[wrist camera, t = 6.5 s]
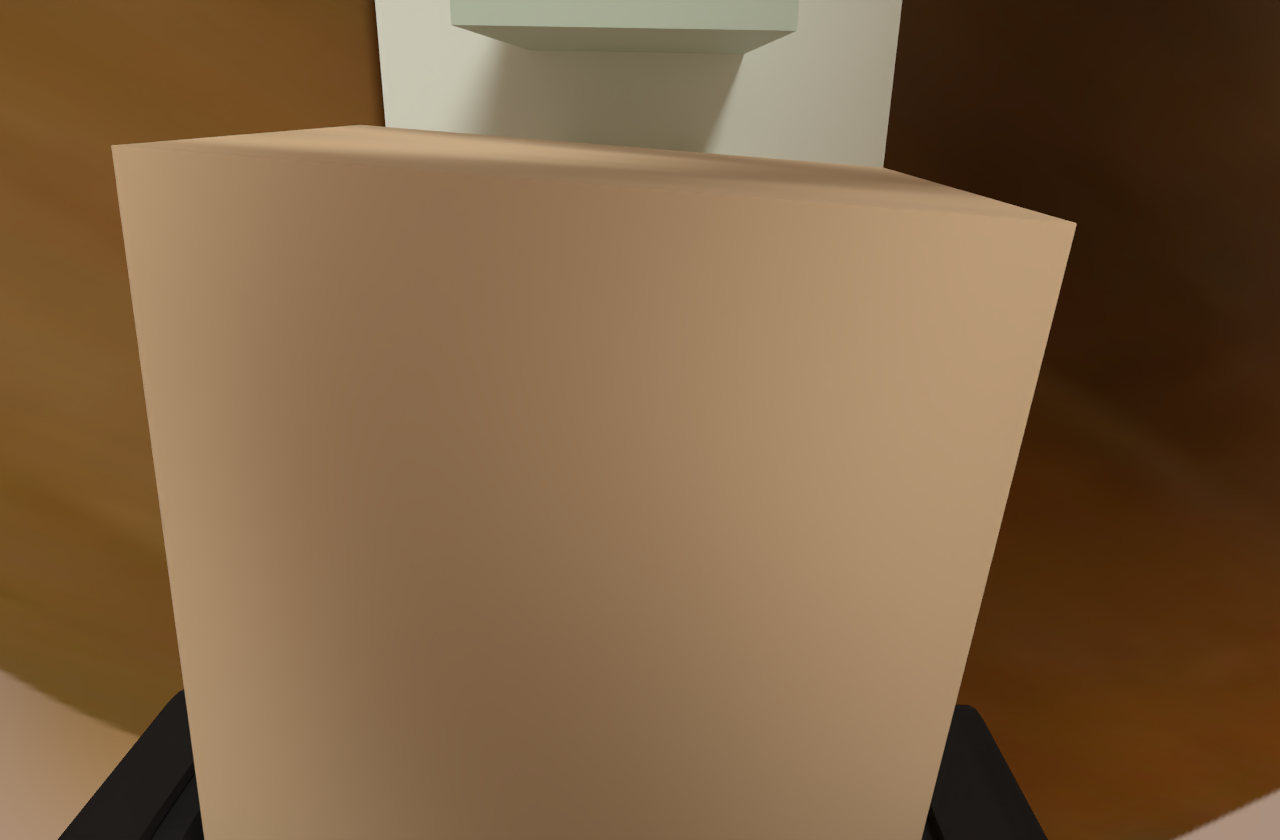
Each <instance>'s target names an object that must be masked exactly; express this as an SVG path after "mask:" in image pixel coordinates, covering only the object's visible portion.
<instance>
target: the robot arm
mask: <svg viewBox="0 0 1280 840" xmlns="http://www.w3.org/2000/svg"><path fill="white" fill-rule="evenodd" d="M58 840H204V833H203V825H202V818H201V810H200V803H199V795H198V788H197V780H196V773H195V766H194V758H193V751H192V743H191V736H190V728H189V721H188V713H187V706H186V698H185V691H184V689H183V690H182V691H180V692H179V693H178V694H176V695H175V696H174V697H173V698H172V699H171V700H170V701H169V702H168V703H167V705H166V706H165V707H164V708H163V710H162V711H161V712H160V713H159V715H158V716H157V717H156V718H155V720H154V721H153V722H152V723H151V725H150V726H149V727H148V728H147V730H146V731H145V732H144V733H143V734H142V736H141V737H140V738H139V739H138V741H137V742H136V743H135V744H134V746H133V747H132V748H131V749H130V751H129V752H128V753H127V754H126V756H125V757H124V758H123V760H122V761H121V762H120V763H119V764H118V765H117V767H116V768H115V770H113V772H112V773H111V774H110V775H109V777H108V778H107V779H106V781H105V782H104V783H103V784H102V785H101V787H100V788H99V789H98V790H97V791H96V793H95V794H94V796H92V798H91V799H90V800H89V801H88V803H87V804H86V805H85V806H84V808H83V809H82V810H81V812H80V813H79V814H78V815H77V816H76V818H75V819H74V820H73V821H72V823H71V824H70V825H69V826H68V827H67V829H66V830H65V831H64V832H63V834H62V835H61V836H60V837H59V839H58ZM921 840H1048V839H1047V837H1046V836H1045V834H1044V832H1043V830H1042V828H1041V826H1040V824H1039V823H1038V821H1037V819H1036V817H1035V815H1034V813H1033V811H1032V810H1031V808H1030V806H1029V804H1028V802H1027V800H1026V798H1025V797H1024V795H1023V793H1022V791H1021V789H1020V787H1019V785H1018V784H1017V782H1016V780H1015V778H1014V776H1013V774H1012V772H1011V771H1010V769H1009V767H1008V765H1007V763H1006V761H1005V759H1004V758H1003V756H1002V754H1001V752H1000V750H999V748H998V746H997V745H996V743H995V741H994V739H993V737H992V735H991V733H990V732H989V730H988V728H987V726H986V724H985V722H984V720H983V719H982V717H981V716H980V715H979V713H978V712H977V710H976V709H975V708H973V707H971V706H969V705H955V708H954V712H953V716H952V720H951V724H950V728H949V732H948V736H947V740H946V744H945V748H944V752H943V756H942V760H941V764H940V767H939V771H938V775H937V779H936V783H935V787H934V791H933V795H932V799H931V803H930V807H929V811H928V815H927V819H926V823H925V827H924V831H923V835H922V839H921Z"/></svg>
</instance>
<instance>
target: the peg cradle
mask: <svg viewBox="0 0 1280 840" xmlns="http://www.w3.org/2000/svg"><path fill="white" fill-rule="evenodd" d="M375 7H376V19H377V31H378V43H379V54H380V66H381V78H382V90H383V101H384V113H385V125H386V127H392V128H405V129H417V130H429V131H441V132H454V133H466V134H478V135H491V136H503V137H515V138H527V139H540V140H552V141H564V142H577V143H589V144H601V145H614V146H626V147H638V148H650V149H663V150H675V151H687V152H700V153H712V154H724V155H737V156H749V157H761V158H773V159H786V160H798V161H810V162H823V163H835V164H847V165H860V166H872V167H883V164H884V156H885V147H886V138H887V130H888V121H889V112H890V103H891V95H892V86H893V77H894V69H895V60H896V51H897V42H898V34H899V25H900V16H901V7H902V0H375Z"/></svg>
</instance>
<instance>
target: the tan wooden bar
mask: <svg viewBox="0 0 1280 840" xmlns="http://www.w3.org/2000/svg"><path fill="white" fill-rule="evenodd" d="M111 147H112V154H113V162H114V169H115V177H116V184H117V192H118V199H119V206H120V214H121V221H122V229H123V236H124V244H125V251H126V259H127V266H128V274H129V281H130V288H131V296H132V303H133V311H134V318H135V326H136V333H137V341H138V348H139V356H140V363H141V370H142V378H143V385H144V393H145V400H146V408H147V415H148V423H149V430H150V438H151V445H152V452H153V460H154V467H155V475H156V482H157V490H158V497H159V505H160V512H161V520H162V527H163V534H164V542H165V549H166V557H167V564H168V572H169V579H170V587H171V594H172V602H173V609H174V616H175V624H176V631H177V639H178V646H179V654H180V661H181V669H182V676H183V684H184V691H185V698H186V706H187V713H188V721H189V728H190V736H191V743H192V751H193V758H194V766H195V773H196V780H197V788H198V795H199V803H200V810H201V818H202V825H203V833H204V840H921V839H922V835H923V831H924V827H925V823H926V819H927V815H928V811H929V807H930V803H931V799H932V795H933V791H934V787H935V783H936V779H937V775H938V771H939V767H940V764H941V760H942V756H943V752H944V748H945V744H946V740H947V736H948V732H949V728H950V724H951V720H952V716H953V712H954V708H955V704H956V700H957V696H958V692H959V688H960V684H961V680H962V676H963V672H964V668H965V665H966V661H967V657H968V653H969V649H970V645H971V641H972V637H973V633H974V629H975V625H976V621H977V617H978V613H979V609H980V605H981V601H982V597H983V593H984V589H985V585H986V581H987V577H988V573H989V569H990V565H991V562H992V558H993V554H994V550H995V546H996V542H997V538H998V534H999V530H1000V526H1001V522H1002V518H1003V514H1004V510H1005V506H1006V502H1007V498H1008V494H1009V490H1010V486H1011V482H1012V478H1013V474H1014V470H1015V466H1016V463H1017V459H1018V455H1019V451H1020V447H1021V443H1022V439H1023V435H1024V431H1025V427H1026V423H1027V419H1028V415H1029V411H1030V407H1031V403H1032V399H1033V395H1034V391H1035V387H1036V383H1037V379H1038V375H1039V371H1040V367H1041V363H1042V360H1043V356H1044V352H1045V348H1046V344H1047V340H1048V336H1049V332H1050V328H1051V324H1052V320H1053V316H1054V312H1055V308H1056V304H1057V300H1058V296H1059V292H1060V288H1061V284H1062V280H1063V276H1064V272H1065V268H1066V264H1067V261H1068V257H1069V253H1070V249H1071V245H1072V241H1073V237H1074V233H1075V229H1076V225H1077V223H1074V222H1070V221H1067V220H1064V219H1060V218H1057V217H1053V216H1050V215H1046V214H1043V213H1039V212H1036V211H1032V210H1029V209H1025V208H1022V207H1018V206H1015V205H1011V204H1008V203H1004V202H1001V201H997V200H994V199H991V198H987V197H984V196H980V195H977V194H973V193H970V192H966V191H963V190H959V189H956V188H952V187H949V186H945V185H942V184H938V183H935V182H931V181H928V180H925V179H921V178H918V177H914V176H911V175H907V174H904V173H900V172H897V171H893V170H890V169H886V168H883V167H872V166H860V165H847V164H835V163H823V162H810V161H798V160H786V159H773V158H761V157H749V156H737V155H724V154H712V153H700V152H687V151H675V150H663V149H650V148H638V147H626V146H614V145H601V144H589V143H577V142H564V141H552V140H540V139H527V138H515V137H503V136H491V135H478V134H466V133H454V132H441V131H429V130H417V129H405V128H392V127H380V126H368V125H354V126H342V127H330V128H317V129H305V130H293V131H281V132H269V133H257V134H245V135H233V136H221V137H209V138H196V139H184V140H172V141H160V142H148V143H136V144H124V145H112V146H111Z"/></svg>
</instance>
